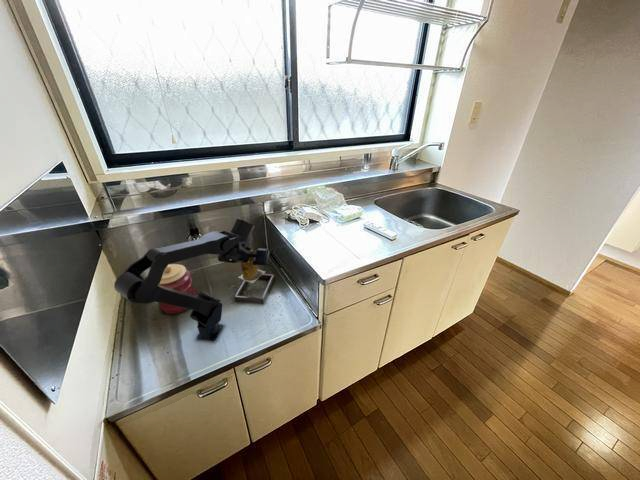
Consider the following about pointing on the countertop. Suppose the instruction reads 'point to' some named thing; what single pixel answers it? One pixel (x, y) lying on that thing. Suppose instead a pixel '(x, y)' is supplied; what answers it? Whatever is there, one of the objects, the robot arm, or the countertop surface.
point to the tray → (254, 299)
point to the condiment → (250, 271)
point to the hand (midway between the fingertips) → (251, 259)
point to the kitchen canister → (176, 285)
